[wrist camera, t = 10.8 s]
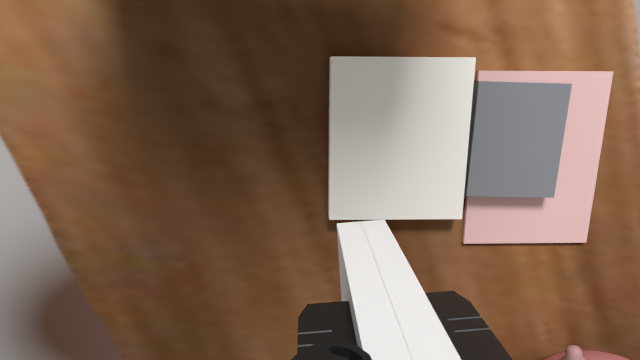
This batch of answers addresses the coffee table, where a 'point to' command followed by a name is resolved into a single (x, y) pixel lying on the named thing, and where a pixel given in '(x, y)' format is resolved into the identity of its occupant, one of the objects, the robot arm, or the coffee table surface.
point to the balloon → (583, 355)
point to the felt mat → (573, 175)
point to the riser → (398, 136)
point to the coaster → (516, 138)
